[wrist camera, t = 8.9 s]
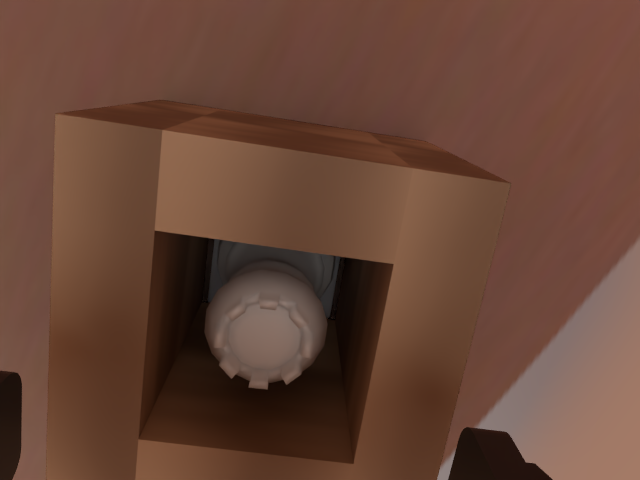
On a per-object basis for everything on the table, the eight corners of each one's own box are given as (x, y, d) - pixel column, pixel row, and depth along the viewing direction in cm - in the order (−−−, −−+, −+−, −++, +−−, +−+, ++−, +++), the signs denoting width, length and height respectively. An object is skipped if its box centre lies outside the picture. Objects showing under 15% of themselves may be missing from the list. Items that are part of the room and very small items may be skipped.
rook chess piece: (313, 317, 22) (318, 442, 15) (206, 284, 22) (152, 395, 14) (351, 215, 21) (378, 291, 14) (239, 177, 21) (201, 234, 13)
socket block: (142, 345, 23) (45, 503, 14) (160, 99, 20) (55, 113, 12) (378, 374, 24) (420, 543, 15) (426, 141, 21) (511, 183, 12)
